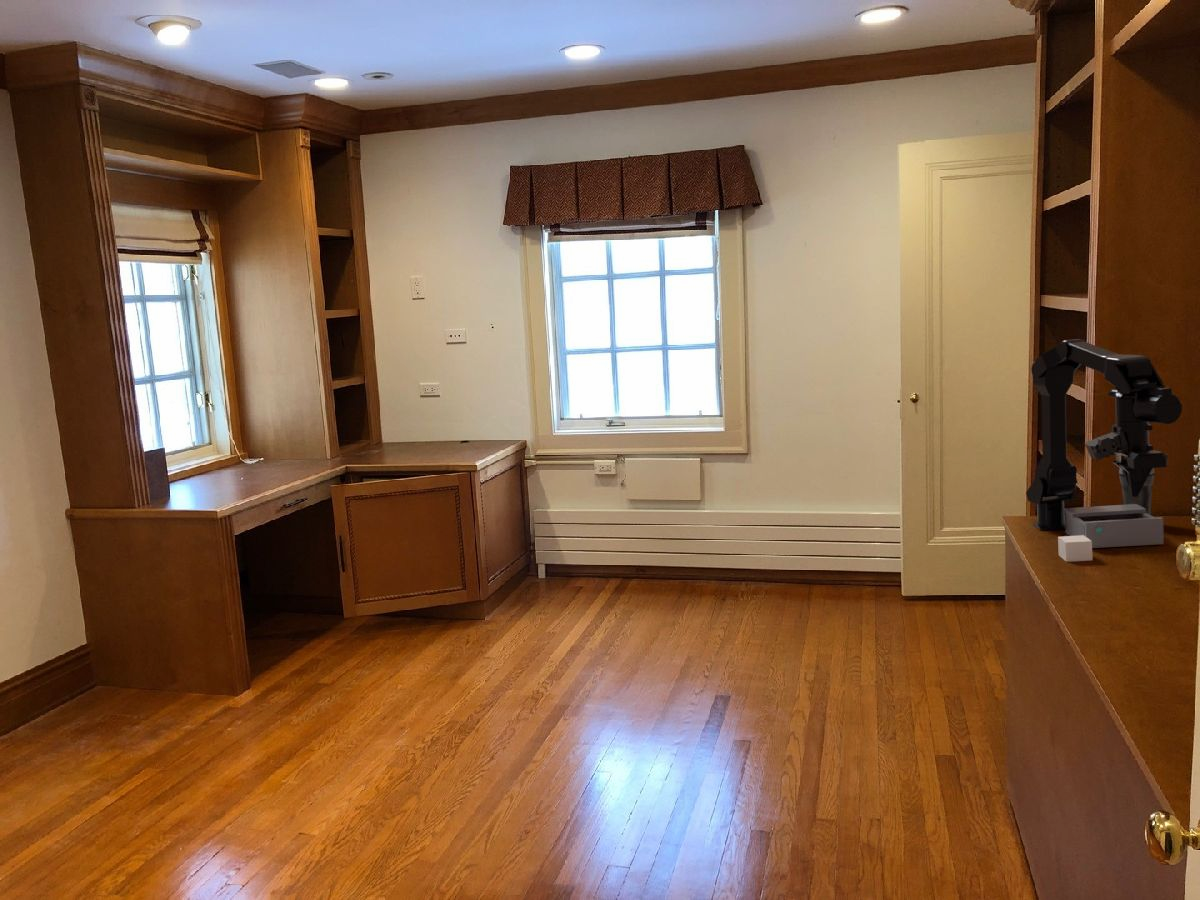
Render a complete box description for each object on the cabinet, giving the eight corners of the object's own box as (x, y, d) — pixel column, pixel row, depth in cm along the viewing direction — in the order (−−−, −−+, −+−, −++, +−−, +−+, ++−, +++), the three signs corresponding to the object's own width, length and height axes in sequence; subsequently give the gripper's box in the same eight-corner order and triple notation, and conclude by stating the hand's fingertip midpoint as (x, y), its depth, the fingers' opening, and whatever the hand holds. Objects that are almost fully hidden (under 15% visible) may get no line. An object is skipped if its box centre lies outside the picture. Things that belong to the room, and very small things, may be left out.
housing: (1065, 533, 220) (1064, 508, 219) (1136, 529, 217) (1136, 503, 217) (1084, 548, 207) (1083, 521, 206) (1160, 543, 205) (1160, 516, 204)
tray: (1067, 533, 218) (1066, 509, 218) (1139, 529, 216) (1138, 505, 215) (1087, 548, 205) (1086, 523, 205) (1164, 544, 203) (1164, 518, 202)
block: (1058, 555, 204) (1058, 536, 203) (1084, 553, 203) (1083, 535, 202) (1066, 561, 199) (1065, 542, 198) (1092, 560, 198) (1091, 541, 198)
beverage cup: (1147, 519, 225) (1145, 433, 222) (1162, 526, 218) (1160, 437, 215) (1114, 521, 226) (1112, 435, 223) (1127, 528, 219) (1125, 440, 216)
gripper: (1073, 418, 206) (1076, 491, 208) (1105, 428, 188) (1108, 508, 190) (1130, 413, 204) (1133, 487, 206) (1168, 423, 186) (1170, 504, 188)
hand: (1134, 496), depth 197 cm, fingers closed
